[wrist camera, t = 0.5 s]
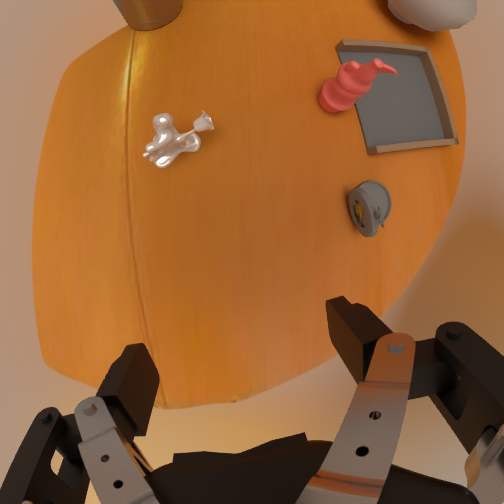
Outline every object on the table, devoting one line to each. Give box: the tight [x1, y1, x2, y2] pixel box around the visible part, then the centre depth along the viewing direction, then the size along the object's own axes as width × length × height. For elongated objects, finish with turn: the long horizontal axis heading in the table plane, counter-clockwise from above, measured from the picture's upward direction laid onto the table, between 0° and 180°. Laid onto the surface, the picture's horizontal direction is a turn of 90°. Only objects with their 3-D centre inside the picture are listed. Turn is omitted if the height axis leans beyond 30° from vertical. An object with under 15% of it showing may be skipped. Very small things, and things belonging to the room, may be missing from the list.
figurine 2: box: [319, 58, 397, 113], centre depth 27 cm, size 5×5×15 cm
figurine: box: [143, 110, 214, 168], centre depth 29 cm, size 5×9×12 cm, turn 126°
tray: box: [335, 40, 459, 155], centre depth 33 cm, size 18×18×3 cm
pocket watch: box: [349, 181, 391, 237], centre depth 34 cm, size 8×8×10 cm
